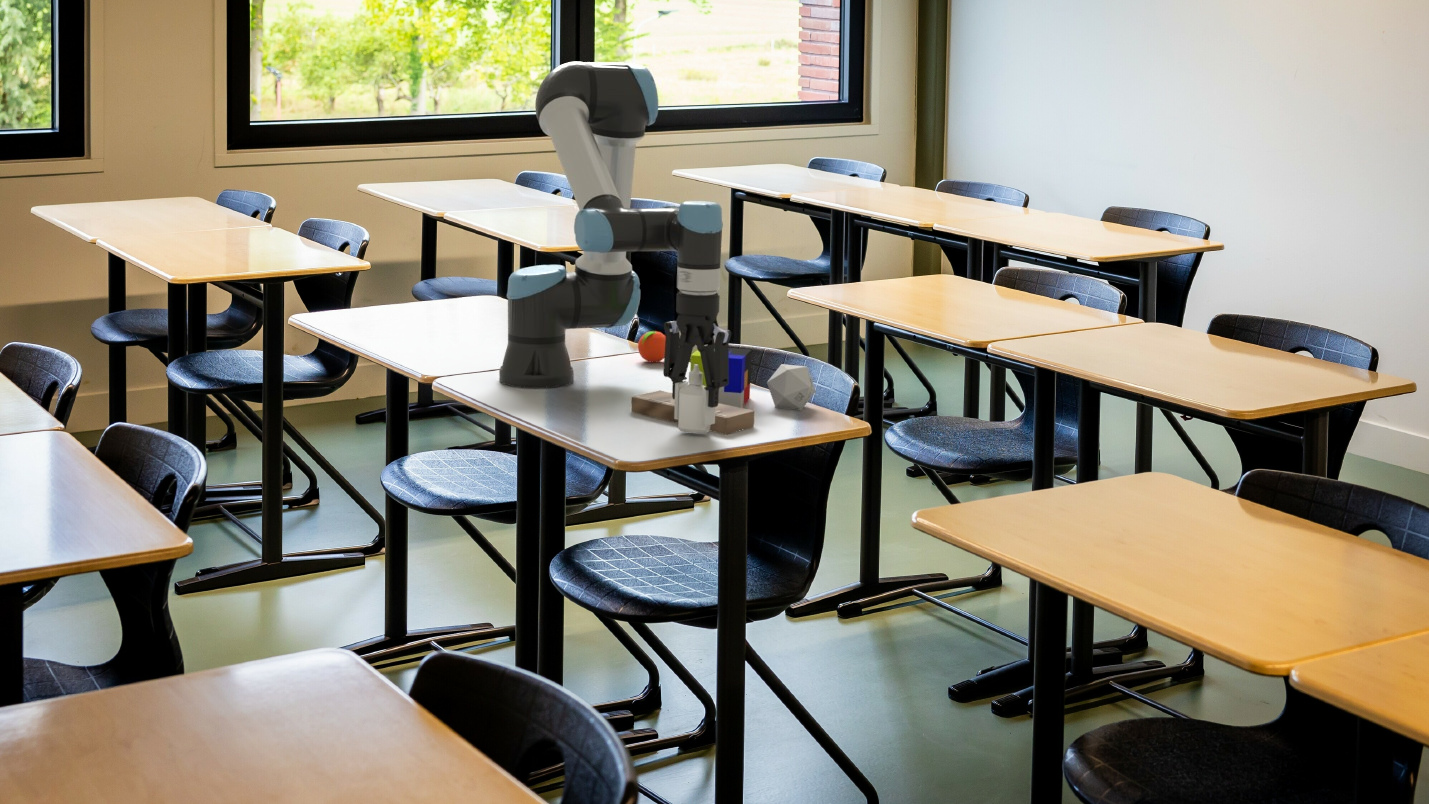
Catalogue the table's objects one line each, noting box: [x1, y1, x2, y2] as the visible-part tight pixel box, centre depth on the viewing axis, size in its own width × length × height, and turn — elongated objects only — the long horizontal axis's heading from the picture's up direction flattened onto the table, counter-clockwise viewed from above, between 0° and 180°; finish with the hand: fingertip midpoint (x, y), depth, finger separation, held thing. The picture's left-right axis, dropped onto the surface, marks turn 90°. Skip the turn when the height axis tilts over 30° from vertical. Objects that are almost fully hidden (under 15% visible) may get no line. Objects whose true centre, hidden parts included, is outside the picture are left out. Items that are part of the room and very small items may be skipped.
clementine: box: [637, 330, 666, 363], centre depth 311 cm, size 8×7×7 cm
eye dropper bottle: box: [677, 364, 711, 434], centre depth 249 cm, size 4×6×12 cm
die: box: [766, 363, 817, 411], centre depth 273 cm, size 8×9×10 cm
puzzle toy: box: [689, 347, 752, 408], centre depth 274 cm, size 10×10×10 cm
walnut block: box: [630, 390, 755, 435], centre depth 260 cm, size 23×8×3 cm, turn 51°
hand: (694, 420), depth 250 cm, fingers closed on eye dropper bottle, 6 cm apart
